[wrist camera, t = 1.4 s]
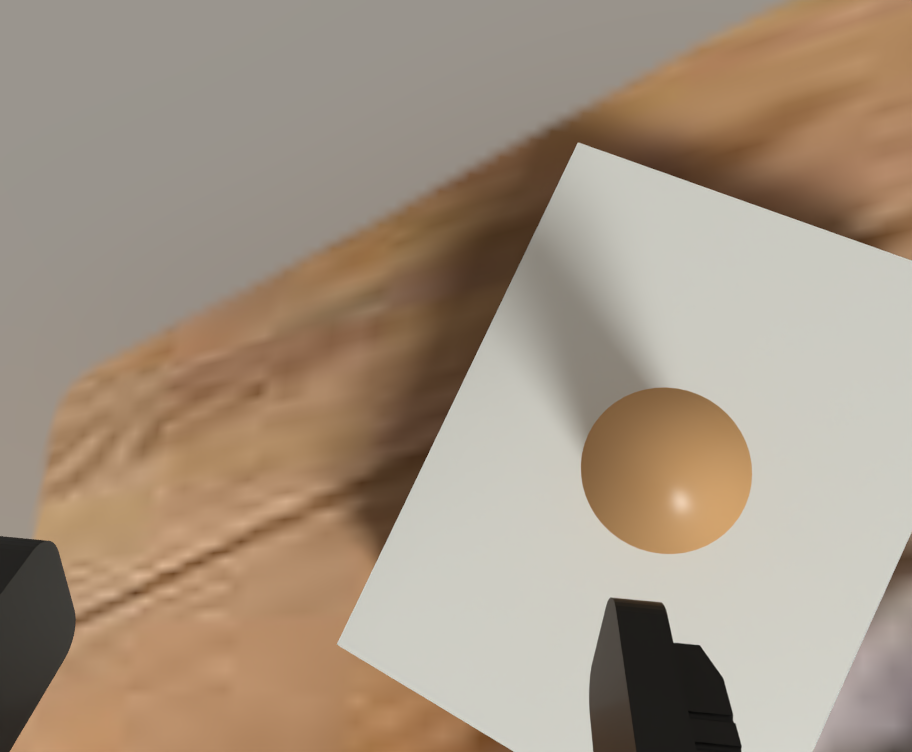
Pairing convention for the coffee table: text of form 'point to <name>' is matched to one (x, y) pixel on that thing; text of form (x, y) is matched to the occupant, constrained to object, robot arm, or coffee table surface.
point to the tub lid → (658, 465)
